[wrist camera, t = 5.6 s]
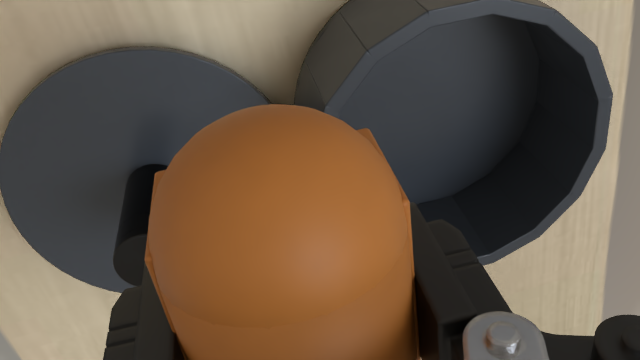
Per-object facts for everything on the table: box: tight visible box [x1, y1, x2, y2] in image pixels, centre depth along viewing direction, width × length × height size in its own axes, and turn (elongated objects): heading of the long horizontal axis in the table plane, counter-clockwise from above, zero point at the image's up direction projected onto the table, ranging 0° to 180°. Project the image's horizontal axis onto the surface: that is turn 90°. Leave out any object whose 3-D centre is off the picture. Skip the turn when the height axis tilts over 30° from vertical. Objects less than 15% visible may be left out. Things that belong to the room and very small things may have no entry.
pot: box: [294, 0, 613, 265], centre depth 29 cm, size 14×14×6 cm
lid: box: [0, 47, 271, 293], centre depth 28 cm, size 15×15×7 cm
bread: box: [144, 104, 421, 360], centre depth 11 cm, size 9×4×4 cm, turn 8°
